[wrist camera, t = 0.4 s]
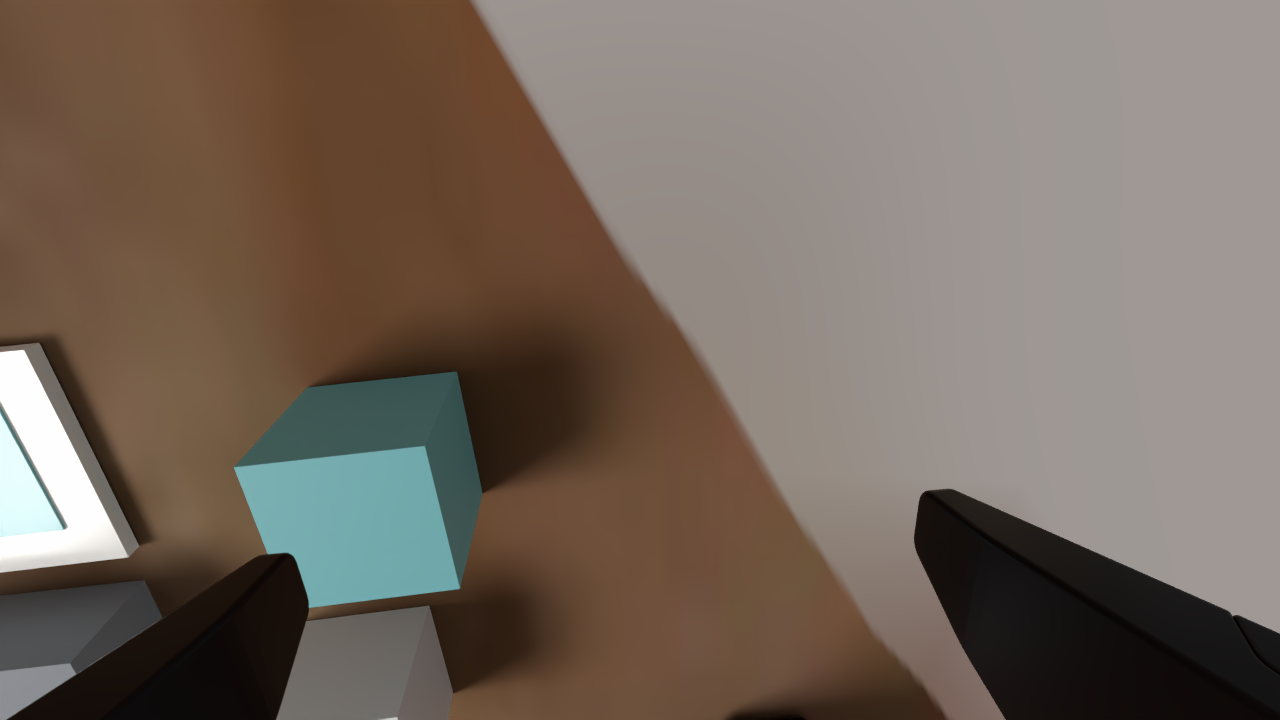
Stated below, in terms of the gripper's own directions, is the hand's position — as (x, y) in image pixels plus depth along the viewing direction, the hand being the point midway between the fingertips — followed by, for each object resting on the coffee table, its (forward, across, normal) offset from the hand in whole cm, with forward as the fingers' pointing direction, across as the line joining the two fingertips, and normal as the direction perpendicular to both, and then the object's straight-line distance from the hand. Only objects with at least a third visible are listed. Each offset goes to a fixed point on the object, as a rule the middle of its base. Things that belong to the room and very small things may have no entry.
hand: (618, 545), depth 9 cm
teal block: (+13, +7, +5) cm, 16 cm away
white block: (+13, +10, +15) cm, 22 cm away
